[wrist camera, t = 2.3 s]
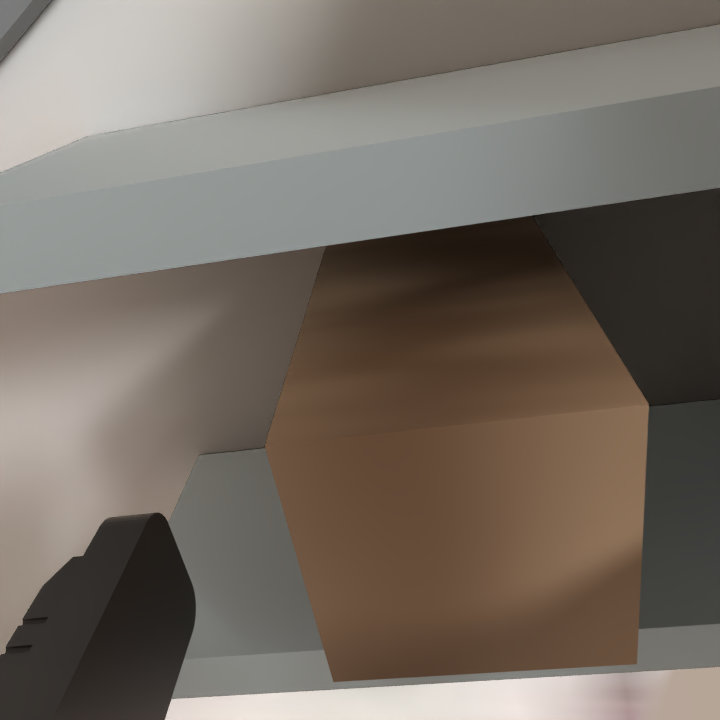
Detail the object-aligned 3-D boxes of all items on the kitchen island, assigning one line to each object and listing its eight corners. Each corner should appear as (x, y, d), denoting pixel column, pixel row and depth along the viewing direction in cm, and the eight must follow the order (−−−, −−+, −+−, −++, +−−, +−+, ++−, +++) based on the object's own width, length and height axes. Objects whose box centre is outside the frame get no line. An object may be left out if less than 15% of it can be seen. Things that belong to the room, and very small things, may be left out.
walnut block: (520, 197, 15) (648, 404, 7) (529, 363, 17) (636, 664, 9) (332, 225, 16) (263, 446, 8) (363, 383, 18) (333, 681, 10)
